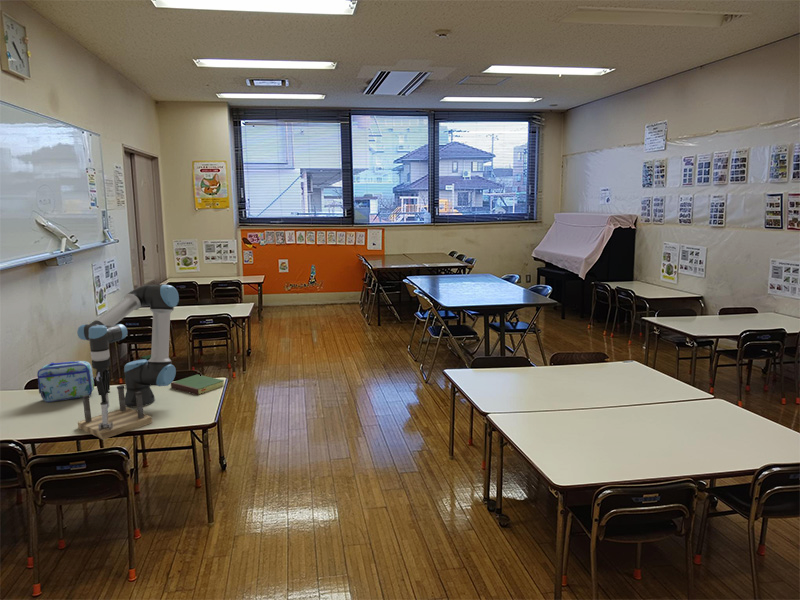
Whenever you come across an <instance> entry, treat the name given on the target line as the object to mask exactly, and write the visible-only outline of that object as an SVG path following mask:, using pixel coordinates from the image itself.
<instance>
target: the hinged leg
mask: <svg viewBox="0 0 800 600" xmlns="http://www.w3.org/2000/svg"><path fill="white" fill-rule="evenodd" d="M107 404H108V401H106V402H102V401H100V406H101V415H102V429H109V424H108V423H109V420H108V413H109V408H108V405H107Z"/></svg>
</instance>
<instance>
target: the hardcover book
mask: <svg viewBox="0 0 800 600" xmlns="http://www.w3.org/2000/svg"><path fill="white" fill-rule="evenodd" d="M200 375H201V376H200ZM224 384H225V380H224V379H220V378H214V377H210V376H206V375H203V374H198V373H197V374H195V375H191V376H188V377H187V376H186V377H185V378H181V379H178V380H175V381H172V383H171V384H170V387H171V389H174V390H178V391H182V392H184V393H185V392H186V393H189V392H190V394H192V393H193V395H196V394H197V395H196V396H199V395H201V393H202V394H204V392H205V393H207V392H210V391H213V390H215V389H218V388H221V386H222V387H224V386H225V385H224Z"/></svg>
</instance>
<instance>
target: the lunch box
mask: <svg viewBox="0 0 800 600" xmlns="http://www.w3.org/2000/svg"><path fill="white" fill-rule="evenodd" d="M36 376H37V381H38V384H37V387H38V393H39V394H40V397H41V400H43V402H44V403H45V402H46V403H52V402H57V401H65V400H74V399H79V398H81V399H82V396H84V395H89V397H90V396H91V395H92V393H93V392H94V390H95V380H94V375H93V368H92V364H91V363H90V362H89V361H87V360H73V361H72V360H71V361H62V362H50V363H47V364H45V365H44V366H42V368H40V369H39V370H37V375H36Z"/></svg>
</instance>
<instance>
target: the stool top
mask: <svg viewBox="0 0 800 600" xmlns="http://www.w3.org/2000/svg"><path fill="white" fill-rule="evenodd" d="M116 389H117V394H118V395H117V396H118V402H119V403H118V404H119V409H115V410H112V411H110V412H109V411H108V420H109V423H108V424H109V429H102V414H100V415H97V416H93V417H92V412H91V405H90V404H91V403H90V402H91V401H90V396H89V395H84V396H82V398H81V399H82V403H83V411H84V419H83V420H80V421H77V428H78V429H80V430H82V431H84V432H86V433H89V434H90V435H93V436H95V437H97V438H99V439H100V440H106V439H109V438H111V437H114V436H117V435H121V434H124V433H126V432H129V431H132V430H135V429H138V428H141V427H144V426H146V425H149V424H150V425H151V424H152V423H153V417H152V416H151V415H148V414H145V413H144V412H145V411H144V406H143V402H142V392H140V391H139V392H135V395H136V403H137V407H136V410H135V409H132V408H131V407H127V406H126V405H125V385H122V384H121V385H116Z"/></svg>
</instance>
